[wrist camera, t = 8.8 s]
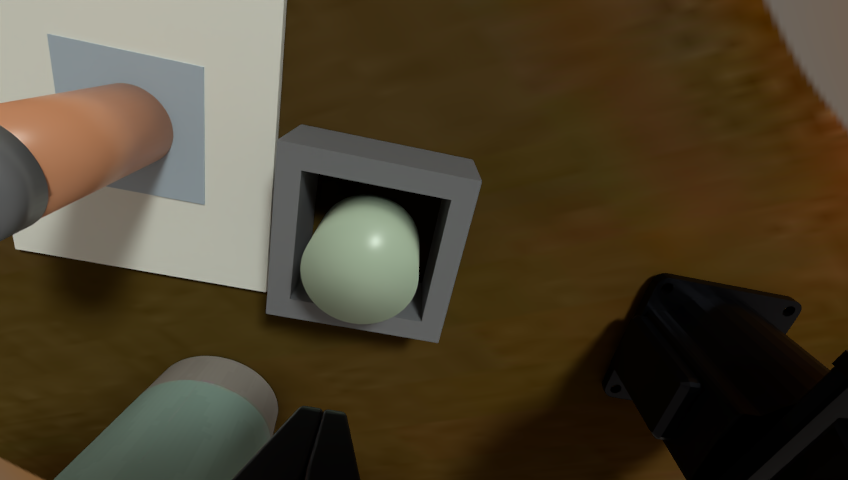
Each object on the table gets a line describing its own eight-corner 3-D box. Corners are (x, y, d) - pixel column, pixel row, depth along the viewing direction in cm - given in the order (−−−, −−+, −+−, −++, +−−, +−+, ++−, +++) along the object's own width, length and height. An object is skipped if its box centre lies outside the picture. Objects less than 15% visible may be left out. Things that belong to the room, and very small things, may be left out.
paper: (289, -34, 14) (285, -36, 13) (268, 288, 18) (265, 292, 18) (-51, -114, 13) (-64, -118, 12) (21, 245, 18) (14, 249, 17)
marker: (171, 89, 15) (-16, 135, 8) (177, 170, 16) (18, 262, 10) (82, 73, 14) (-180, 107, 8) (95, 157, 16) (-122, 243, 9)
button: (428, 205, 15) (429, 233, 13) (409, 293, 16) (406, 332, 14) (323, 184, 14) (305, 209, 12) (313, 276, 16) (295, 313, 14)
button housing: (472, 159, 16) (482, 181, 14) (436, 302, 19) (438, 342, 16) (301, 124, 16) (276, 140, 13) (288, 275, 18) (266, 313, 16)
